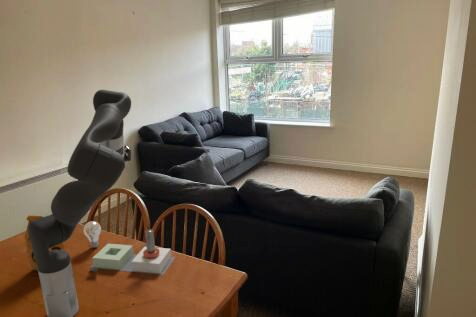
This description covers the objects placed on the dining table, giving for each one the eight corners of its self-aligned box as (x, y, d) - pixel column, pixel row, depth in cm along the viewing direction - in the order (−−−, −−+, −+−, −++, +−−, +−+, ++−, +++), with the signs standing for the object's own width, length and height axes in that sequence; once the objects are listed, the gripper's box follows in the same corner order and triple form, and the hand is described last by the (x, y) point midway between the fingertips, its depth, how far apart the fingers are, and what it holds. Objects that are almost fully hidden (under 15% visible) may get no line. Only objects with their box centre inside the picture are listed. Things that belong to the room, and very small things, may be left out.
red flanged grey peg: (161, 266, 139) (158, 233, 135) (145, 269, 137) (141, 236, 133) (159, 258, 145) (156, 226, 141) (144, 261, 143) (140, 229, 139)
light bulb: (85, 245, 159) (81, 220, 156) (102, 241, 162) (99, 217, 159) (86, 253, 153) (82, 226, 150) (104, 249, 156) (100, 223, 153)
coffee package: (50, 278, 136) (40, 224, 130) (27, 271, 141) (16, 219, 135) (72, 264, 145) (63, 213, 139) (49, 258, 150) (40, 209, 144)
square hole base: (175, 260, 146) (174, 248, 144) (163, 278, 134) (162, 265, 133) (107, 254, 152) (105, 242, 150) (90, 270, 140) (88, 258, 139)
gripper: (96, 157, 114) (97, 188, 125) (136, 142, 123) (133, 172, 134) (84, 141, 117) (86, 174, 128) (124, 128, 126) (122, 159, 137)
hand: (110, 173), depth 131 cm, fingers open, 8 cm apart
